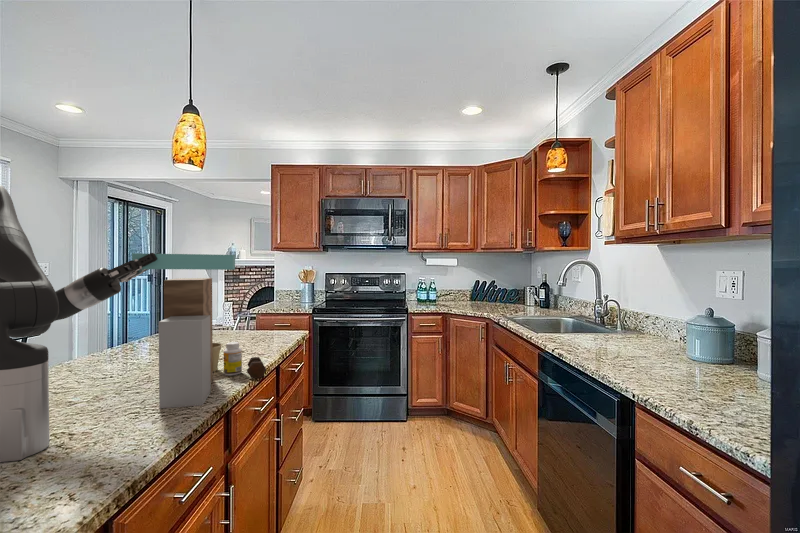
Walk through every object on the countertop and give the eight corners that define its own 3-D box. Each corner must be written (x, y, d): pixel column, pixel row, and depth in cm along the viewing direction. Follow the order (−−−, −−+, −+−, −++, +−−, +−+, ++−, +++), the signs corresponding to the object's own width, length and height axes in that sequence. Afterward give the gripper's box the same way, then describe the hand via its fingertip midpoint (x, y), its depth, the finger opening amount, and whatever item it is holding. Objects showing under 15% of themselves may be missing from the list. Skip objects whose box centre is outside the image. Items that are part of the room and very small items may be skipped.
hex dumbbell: (256, 371, 143) (259, 382, 129) (243, 365, 141) (244, 375, 127) (265, 356, 144) (268, 365, 130) (252, 350, 142) (254, 358, 128)
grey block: (202, 405, 104) (201, 320, 104) (159, 408, 102) (158, 321, 102) (210, 392, 114) (210, 315, 114) (171, 395, 112) (170, 316, 111)
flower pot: (192, 368, 139) (192, 344, 139) (222, 365, 143) (222, 341, 143) (191, 376, 131) (190, 349, 131) (222, 372, 135) (222, 346, 134)
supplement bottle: (224, 372, 135) (224, 341, 135) (242, 370, 137) (242, 340, 137) (222, 376, 130) (222, 345, 130) (241, 375, 131) (240, 344, 131)
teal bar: (232, 269, 108) (232, 254, 108) (132, 269, 103) (132, 253, 103) (235, 269, 112) (235, 254, 112) (138, 268, 107) (138, 253, 107)
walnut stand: (203, 392, 115) (203, 279, 114) (164, 394, 112) (163, 280, 112) (212, 379, 126) (212, 278, 126) (177, 382, 124) (176, 278, 123)
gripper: (69, 277, 95) (140, 242, 99) (98, 274, 109) (159, 244, 112) (87, 304, 96) (157, 268, 100) (114, 298, 110) (174, 267, 113)
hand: (158, 256), depth 106 cm, fingers closed on teal bar, 4 cm apart
